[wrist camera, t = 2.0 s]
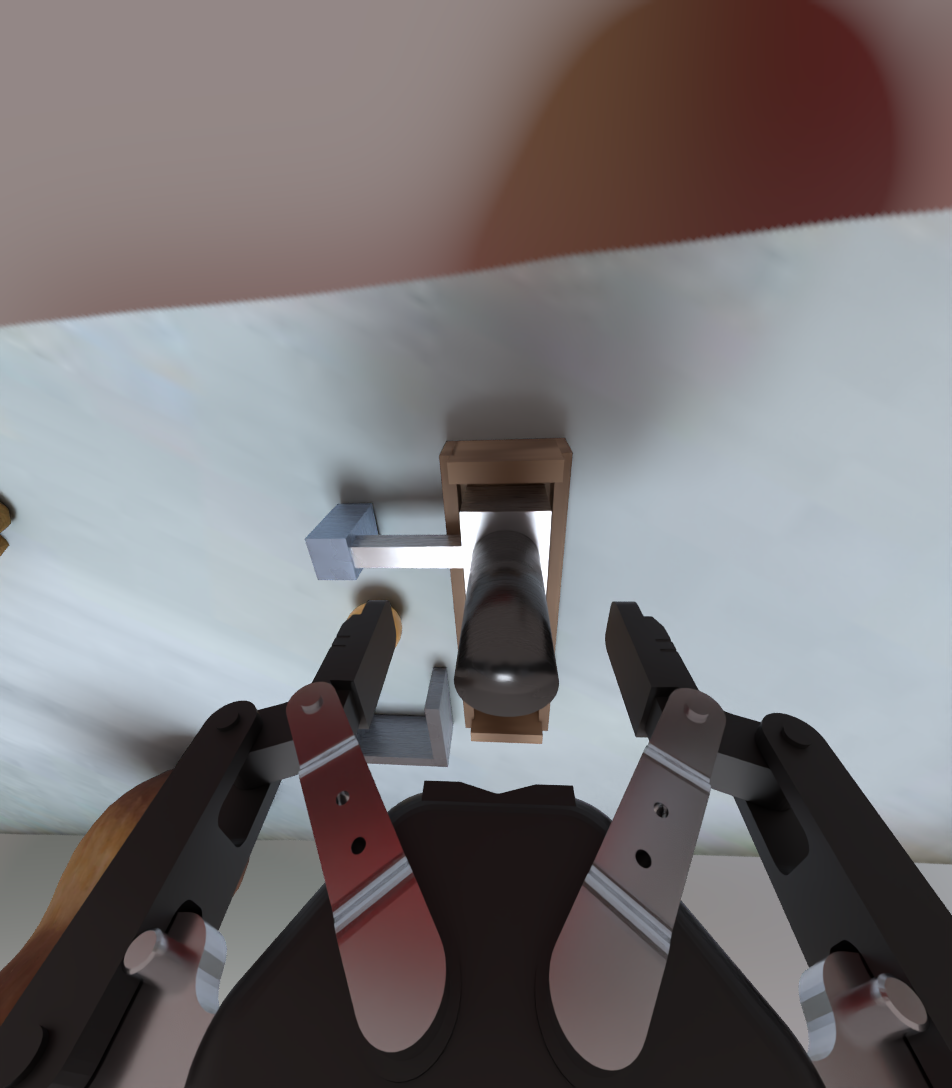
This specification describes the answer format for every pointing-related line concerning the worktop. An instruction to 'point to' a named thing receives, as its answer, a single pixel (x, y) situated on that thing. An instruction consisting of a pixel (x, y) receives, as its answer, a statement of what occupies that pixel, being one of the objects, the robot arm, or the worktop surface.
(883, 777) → the worktop surface
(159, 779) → the butternut squash
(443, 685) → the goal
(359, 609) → the ball
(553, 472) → the brown long open box
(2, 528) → the tap handle
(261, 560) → the worktop surface
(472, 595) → the kicker
